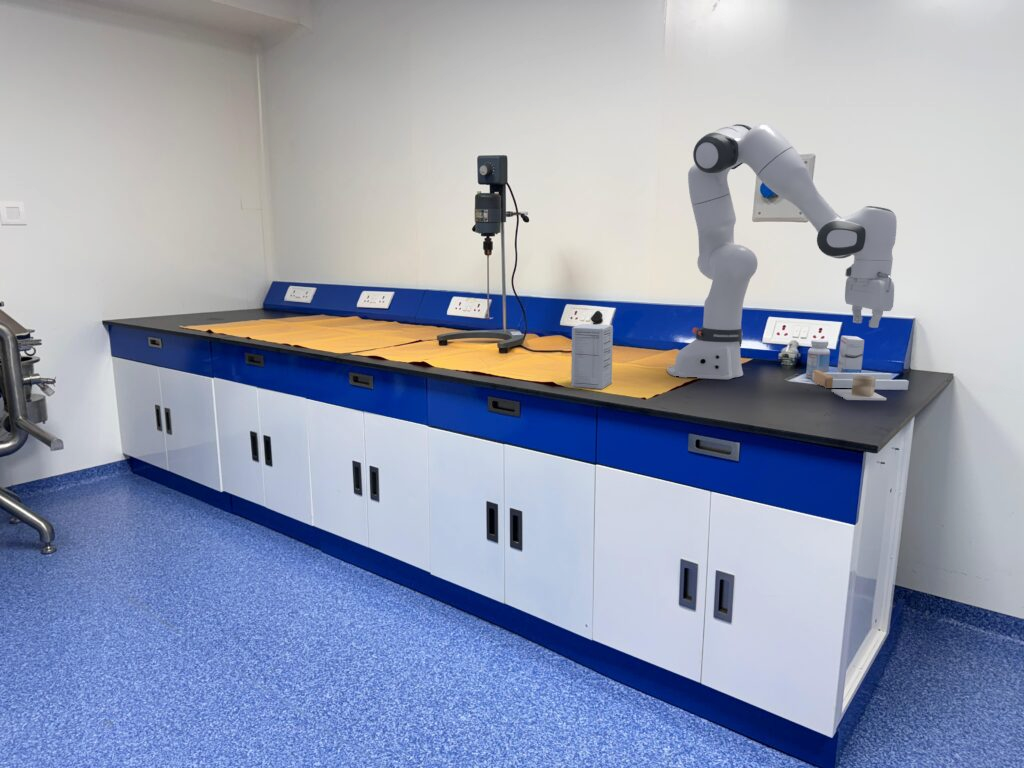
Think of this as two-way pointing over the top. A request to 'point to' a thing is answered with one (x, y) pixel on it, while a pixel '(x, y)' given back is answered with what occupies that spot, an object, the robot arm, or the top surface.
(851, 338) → the ink box
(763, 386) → the top surface
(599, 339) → the supplement box
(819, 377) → the channel
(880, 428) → the top surface
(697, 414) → the top surface
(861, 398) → the tile
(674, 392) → the top surface
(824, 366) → the pill bottle
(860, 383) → the cube
